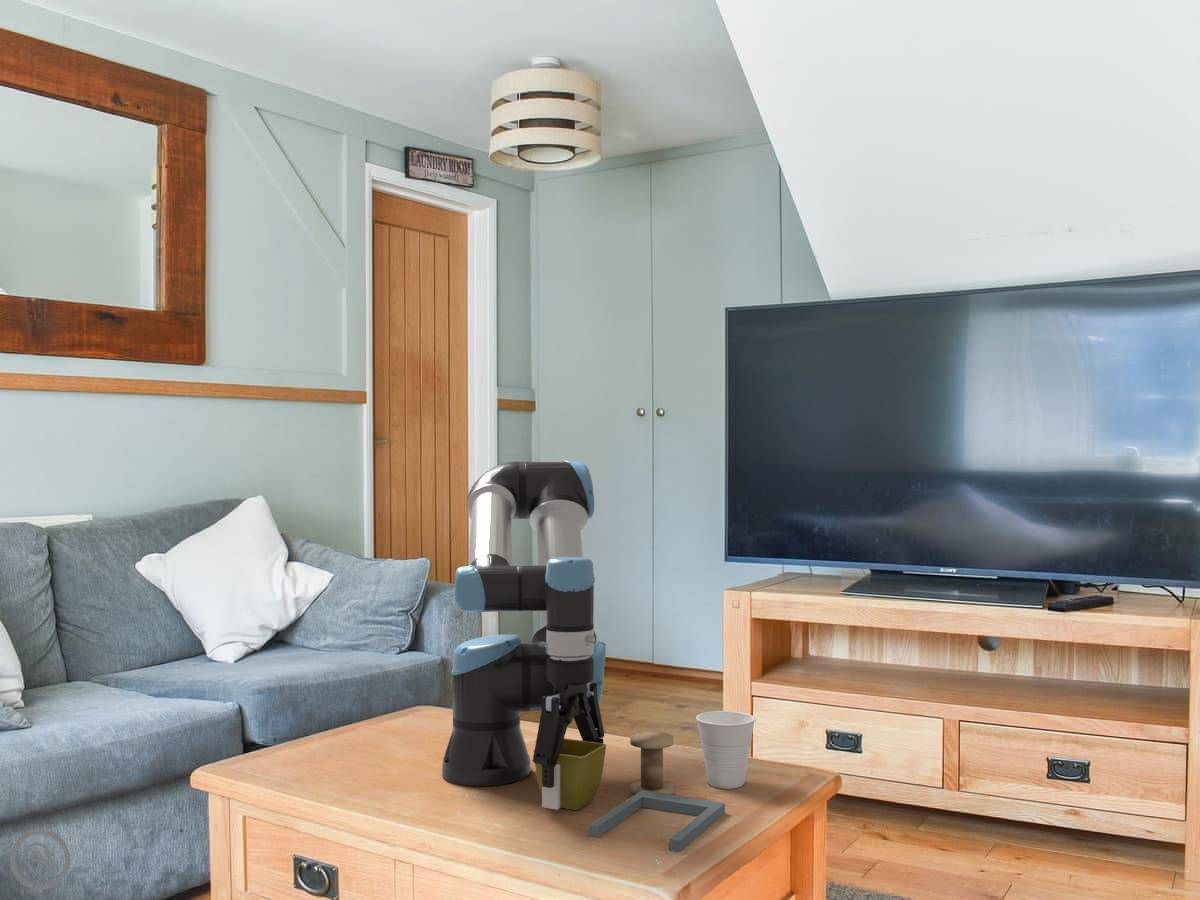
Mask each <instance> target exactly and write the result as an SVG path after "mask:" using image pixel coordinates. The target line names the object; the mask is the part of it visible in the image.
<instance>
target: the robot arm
mask: <svg viewBox="0 0 1200 900" xmlns="http://www.w3.org/2000/svg"><path fill="white" fill-rule="evenodd" d="M467 495H468V496H467V500H466V512H467V515H468V518H469V519H470V521H471V523H470V535H469V536H470V538H469V551H468V553H469V555H468V565H467V566H466V565H465V566H460V567H458V568H456V571H455V577H454V581H455V583H454V601H455V602H454V603H455V607H456V609H457V610H458V611H461V612H471V613H472V612H473V613H477V614H481V613H490V612H491V613H494V612H496V613H497V612H536V611H537V612H539V628H537V629H536V630H535V631H534V633H533V634H532V637H531V642H529V643H526V642H525V643H522V639H521V638H520V636H519V635H518V634H513V633H510V634H504V633H503V634H493V635H488V636H487V635H486V636H481V637H476V638H472V639H469V640H466V641H463V642H462V643H460V644H459V645H457V646H456V647H455V649H454V651H453V655H452V657H453V658H452V659H453V660H452V670H451V675H452V731H451V733H450V737H449V740H448V743H447V745H446V748H445V749H446V750H445V753H444V757H443V759H442V764H441V765H442V766H441V767H442V772H441V774H442V777H443V778H444V780H446V781H448V782H451V783H453V784H454V783H455V784H457V785H458V784H459V785H464V786H477V787H480V786H481V787H482V786H483V787H486V786H487V787H488V786H498V785H505V784H510V783H515V782H518V781H522V780H523V779H525V778H527V777H528V776H529V775H530V774H531V758H530V755H529V752H528V748H527V746H526V745H527V744H526V742H525V738H524V735H523V732H522V730H521V712H522V713H523V712H529V713H531V712H541V713H540V718H539V723H538V728H537V729H538V730H537V734H536V741H535V746H534V750H535V751H534V750H533V756H532V762H533V763H534V764H535V763H536V764H541V766H542V794H541V806H542V807H541V808H545V809H550V810H551V809H552V810H556V811H558V810H560V809H561V808H560V765H558V764H557V760H558V757H559V754H560V750H561V747H562V743H563V740H564V739H565V735H566V733H567V732H566V731H567V729H568V726H569V725H570V724H571V723H572V721H573V719H574V721H575V725H576V727H577V731H578V733H579V734H580V735H579V736H580V738H581V741H589V742H596V743H602V744H604V737H605V731H604V730H605V729H604V725H603V719H602V714H601V707H600V704H601V701H602V697H603V696H602V695H603V689H604V688H603V687H604V678H605V677H604V676H605V666H606V652H607V650H606V649H607V647H606V643H605V642H604V641H600V640H597V634H596V631H595V630H594V612H595V611H594V609H595V607H594V606H595V605H594V602H595V599H594V598H595V596H594V594H595V587H594V585H595V582H596V581H595V579H596V577H595V575H594V563H593V560H592V559H591V558H589V557H584V556H583V542H582V530H584V528H585V526H586V525H587V523H588V520H589V519H591V518H592V517H593V515H594V513H595V495H594V485H593V478H592V475H591V472H590V469H589V468H588V466H587V465H586V464H585V463H583V462H581V461H570V460H562V461H519V460H518V461H514V460H512V461H508V462H503V463H500V464H498V465H496V466H494V467H492V468H490V469H489V470H487V471H485V472H484V473H483V474H482V475H481V476H480V477H478V479H476V481H475V482H474V483H473V485H472V486H471V488H470V490H469V493H468V494H467ZM515 519H517V520H518V519H519V520H529V521H528V522H529V525H530V527H531V529H532V530H534V532H535V533H536V535H537V537H536V538H537V539H536V540H537V565H513V553H512V552H513V548H512V547H513V546H512V541H513V540H512V537H513V536H512V535H513V534H512V520H515Z"/></svg>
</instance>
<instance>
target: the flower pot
mask: <svg viewBox="0 0 1200 900" xmlns="http://www.w3.org/2000/svg"><path fill="white" fill-rule="evenodd" d="M606 749H607V744H606V743H603V744H602V743H596V742H589V741H583V740H582V739H581V740H578V739H570V738H564V740H563V743H562V747H561V750H560V754H559V757H558V760H557V764H558V765H560V809H567V810H572V811H578V810H580V809H581V808H583V807H584V806H586V805H587V804H589V803H590V802H591V801H592V799H593V798H594V796H595V795H596V792H597V791H598V788H599V786H600V783H601V781H602V776H603V772H604V766H605V765H604V764H605V757H606ZM534 751H535V749H534V750H533V752H534ZM534 767H535V774H536V781H537V785H538V788H539V791H540V793H541V795H542V766H541V764H536V763H534Z"/></svg>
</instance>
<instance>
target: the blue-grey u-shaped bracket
mask: <svg viewBox="0 0 1200 900" xmlns="http://www.w3.org/2000/svg"><path fill="white" fill-rule="evenodd" d="M641 808H649V809H654V810H661V811H665V812H667V811H668V812H672V813H673V812H674V813H679V814H686V815H691V816H692V815H693V816H696V817H695V818H693V819H692V820H691V821H690V822H688V823H687V824H686V825H684V826H683V827H682V828H681V829H680V830H678V831H677V832H676V833H675V834H673V835H672V836H671V837H670V838H668V850H669V851H673V852H678V853H680V851H682V850H683V849H684V848H685V847H687V846H688V845H690V843H692V842H693V841H694V840H695V839H696V838H697V837H699V836H700V835H701V834H702V833H704V831H706V830H707V829H708V828H710V827H711V826H712V825H713V824H714V823H715V822H716V821H718V820H719V819H720V818H722V816H723V815H724V814H726V802H721V801H715V800H714V801H713V800H708V799H707V800H706V799H700V798H695V797H690V796H689V797H688V796H687V797H686V796H682V795H676V794H675V795H674V794H673V795H669V794H662V793H656V792H649V791H643V790H641V791H640V792H638V793H637V794H635V795H634V796H632V795H631V797H629V798H627V799H626V800H624V801H623V802H621V803H620V804H618V805H616V806H615V807H614V808H612V809H611V810H609V811H608V812H606V813H604V814H603V815H602V816H600V817H599V818H596V820H594V821H592V822H590V823H589V824H588V833H587V834H588V836H587V837H589V836H590V837H595V838H599V837H601V836H602V835H603V834H605V833H606V832H607V831H609V830H610V829H612V828H613V827H615V826H617V825H618V824H620V823H621V822H623V821H624V820H625V819H626V818H628V817H629V816H631V815H632V814H634V813H635V812H636V811H638V810H640V809H641Z"/></svg>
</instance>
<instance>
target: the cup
mask: <svg viewBox="0 0 1200 900" xmlns="http://www.w3.org/2000/svg"><path fill="white" fill-rule="evenodd" d="M695 719H696V722H697V725H698V733H699V738H700V739H699V740H700V742H701V748H702V749H701V750H702V755H703V761H704V766H705V767H704V768H705V775H706V780H707V783H708V784H709V785H710V786H711V787H713V788H717V789H725V790H732V789H737V788H741V787H742V786H743V785H744V784H745V783H746V777H747V768H748V763H749V756H750V755H749V754H750V750H751V749H750V748H751V744H752V737H753V730H754V724H755V722H756V717H755V716H753V715H752V714H749V713H746V712H741V711H733V710H713V711H705V712H702V713H698V714H697V715H696V717H695Z"/></svg>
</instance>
